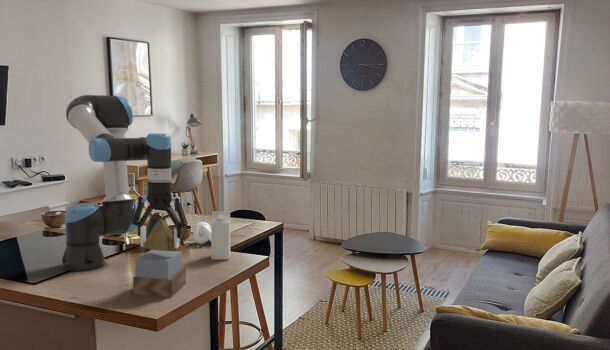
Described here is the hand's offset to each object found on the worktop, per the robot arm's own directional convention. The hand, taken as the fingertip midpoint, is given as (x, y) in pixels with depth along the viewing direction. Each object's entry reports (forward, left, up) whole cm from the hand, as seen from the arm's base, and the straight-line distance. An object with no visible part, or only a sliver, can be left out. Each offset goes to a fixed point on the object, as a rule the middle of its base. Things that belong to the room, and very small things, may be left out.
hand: (160, 246), depth 175 cm
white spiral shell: (-3, +62, -15) cm, 64 cm away
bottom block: (0, 0, -15) cm, 15 cm away
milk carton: (+10, +40, -15) cm, 44 cm away
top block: (0, -1, -9) cm, 9 cm away
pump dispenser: (-21, +51, -15) cm, 57 cm away
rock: (0, 0, -1) cm, 1 cm away
